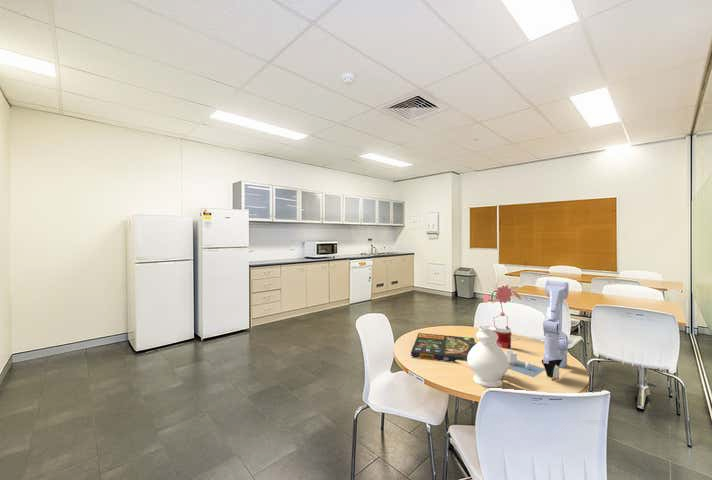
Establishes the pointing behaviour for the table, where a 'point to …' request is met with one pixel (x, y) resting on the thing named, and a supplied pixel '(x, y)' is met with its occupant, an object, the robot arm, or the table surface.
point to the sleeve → (555, 373)
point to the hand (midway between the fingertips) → (552, 374)
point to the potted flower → (502, 299)
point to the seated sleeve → (511, 357)
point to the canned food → (504, 338)
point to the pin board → (527, 372)
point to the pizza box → (442, 347)
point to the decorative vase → (487, 358)
